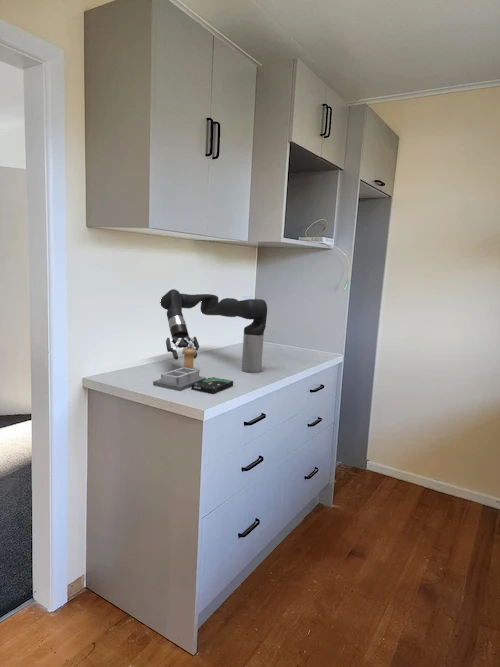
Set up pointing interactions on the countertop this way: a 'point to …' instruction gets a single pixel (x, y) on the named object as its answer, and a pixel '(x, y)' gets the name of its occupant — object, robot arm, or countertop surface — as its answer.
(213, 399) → the countertop surface
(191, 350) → the ball-topped knob
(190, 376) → the box
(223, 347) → the countertop surface
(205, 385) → the disk drive
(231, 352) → the countertop surface
